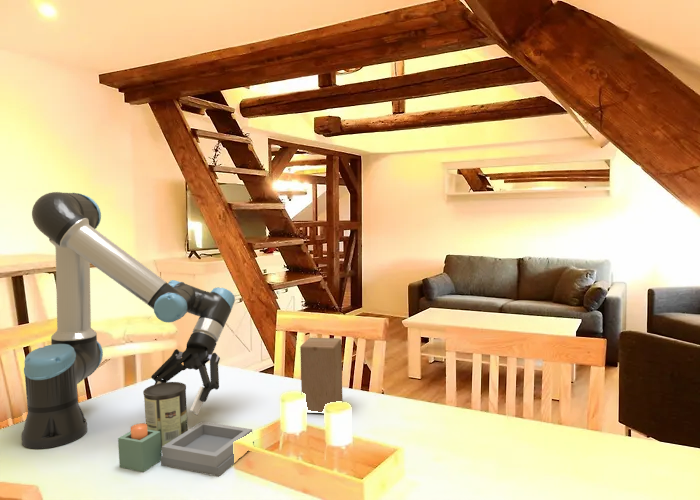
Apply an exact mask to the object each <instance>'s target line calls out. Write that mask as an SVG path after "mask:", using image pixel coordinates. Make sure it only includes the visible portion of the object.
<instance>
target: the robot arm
mask: <svg viewBox="0 0 700 500" xmlns="http://www.w3.org/2000/svg"><path fill="white" fill-rule="evenodd" d="M31 217H32V221H33V223H34V226H35V227H36V228H37V229H38V231H39V232H41V233H42V234H43V235H44V236H46V238H48V239H49V242H50V243H51V244H52V245H53V246H54V247H55V274H56V275H55V281H56V283H55V284H56V285H55V286H56V289H55V290H56V326H57V327H56V331H55V332H54V333H53V334H52V335H51V337H50V338H51V339H50V341H51V342H50V343H51V344H50V345H49V344H48V345H44V346H43V347H38V348H36V349H33V350H32V351H30V352H29V353H28V354H27V355H26V357H25V358H24V368H23V373H24V380H25V381H24V382H25V391H26V394H25V395H26V405H27V406H26V407H27V413H26V418H25V423H24V425H23V429H22V432H21V444H22V446H23V447H25V448H28V449H35V450H36V449H37V450H38V449H48V448H55V447H60V446H63V445H66V444H69V443H71V442H72V443H73V442H74V441H76V440H78V439H81V437H83V436H84V435H86V434H87V431H88V424H87V423H88V422H87V419H86V418H85V415H84V413H83V411H82V409H81V406H80V404H79V397H78V396H79V395H78V384H80V383H81V382H83V380H85V379H87V378H88V377H90V376H91V375H92V374H93V373H95V371H97V370H98V368H99V367H100V365H101V363H102V360H103V355H104V352H103V351H104V350H103V347H102V345H101V343H100V342H99V341H98V337H97V332H96V331H95V330H94V329H93V328H92V322H91V321H92V317H91V316H92V315H91V313H92V312H91V265H93V266H94V267H95V268H96V269H98V270H99V271H101V272H102V273H103V274H105V275H106V276H108V278H110V279H112V280H113V281H114V282H116V283H118V285H120V286H121V287H123V288H124V289H125V290H127V291H128V292H129V293H130V294H132V295H134V296H135V297H136V298H138V299H139V300H141V301H142V302H143V303H144V304H146V305H147V306H149V307H150V308H152V310H153V313H154V315H155V316H156V317H157V319H158V320H160V321H161V322H164V323H173V322H176V321H178V320H180V319H182V318H183V317H184V316H186V315H187V313H188V314H191V315H194V316H197V317H199V318H198V319H197V321H196V323H195V325H194V328H193V329H192V333H191V334H190V337H188V340H187V342H186V349H185V350H184V351H180V350H179V349H174V351H173V352H172V354H171V356H170V357H168V359H167V360H166V361H165V362H163V364H161V365H160V366H159V368H158V369H157V370H155V372H154V373H153V374H152V375H151V379H152V380H154V381H155V382H154V384H153V385H155V384H159V383H165V382H170V380H172V379H173V378H174V377H175V376H177V375H179V373H181V372H182V371H186V370H187V369H188V370H195V371H197V370H199V374H200V378H201V381H202V385H201V386H199V389H198V391H197V393H196V395H195V398H194V400H193V403H192V405H191V407H190V410H189V411H190V412H191V413H192V414H194V415H196V416H198V415H199V413H200V410H201V408H202V406H203V403H205V402H206V401H207V399H208V397H209V395H210V392H212V390H218V389H220V380H219V379H220V376H219V373H220V372H219V363H220V360H221V358H220V356H219V355H218V354H217V353H216V352H214V351H215V349H216V347H217V343H218V342H219V338H220V337H221V334H222V332H223V330H224V327H225V325H226V323H227V322H228V319H229V317H230V315H231V312H232V310H233V306H234V303H235V301H236V298H235V295H234V294H233V292H231V290H229V289H227V288H224V287H214V288H213V289H212V290H211V291H207V290H203V289H200V288H198V287H195V286H193V285H190V284H187V283H185V282H183V281H179V280H174V279H172V280H170V281H168V282H167V281H165V280H164V279H163V278H161V277H160V276H158V275H157V273H155V272H154V271H152V270H151V269H150V268H148V267H147V266H145V265H144V264H143V263H141V262H140V261H139V260H137V259H136V258H135V257H133V256H132V255H130V254H129V253H127V252H126V251H125V250H124V249H123V248H121V247H120V246H119V245H117V243H116V244H115V243H114V242H113V241H112V240H110V239H109V238H108V237H107V236H104V234H102V233H100V231H98V230H97V228H98V226H99V225H100V223H101V219H102V213H101V208H100V207H99V205H98V204H97V202H96V201H95V200H94V199H93V198H91V197H90V196H88V195H85V194H82V193H77V192H60V191H54V192H53V191H52V192H48V193H45V194H44V195H42V196H40V197H39V198H38V199H37V200H36V201H35V203H34V204H33V207H32V210H31ZM208 362H209V369H210V370H209V372H210V373H208V368H207V365H206V364H207V363H208ZM209 374H210V375H209ZM209 376H210V377H209Z"/></svg>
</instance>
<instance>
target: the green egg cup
mask: <svg viewBox="0 0 700 500" xmlns="http://www.w3.org/2000/svg"><path fill="white" fill-rule="evenodd" d="M147 430H148V429H147ZM117 442H118V443H117V446H118V459H119V460H118V463H119V468H121V469H126V470H132V471H137V472H140V473H144V472H146V471H148V470H149V469H150V468H153V466H156V464H158V463H161V456H162V451H161V434H160V431H154V430H148V436H146V437H145V438H143V439H141V440H137V439H131V430H130V431H129V432H127V433H125V434H123V435H121V436H120V437H118V438H117Z"/></svg>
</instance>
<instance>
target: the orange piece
mask: <svg viewBox="0 0 700 500" xmlns="http://www.w3.org/2000/svg"><path fill="white" fill-rule="evenodd" d="M130 431H131V439H137V440H141V439H143V438H145V437H146V436H148V430H147V424H146V422H145V423H136V424H134V425H132V426H130Z"/></svg>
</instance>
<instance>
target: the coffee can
mask: <svg viewBox="0 0 700 500" xmlns="http://www.w3.org/2000/svg"><path fill="white" fill-rule="evenodd" d="M154 384H155V383H154ZM154 384H153V385H150V386H147V387H146V388H145V389H144V390H143V397H144V398H143V399H144V401H143V402H144V414H145V416H144V418H145V424H147V429H148V430H154V431H160V434H161V452H162V446H164V445H165V444H167V443H169V442H170V441H172V440H173V439H175V438H176V437H178V436H180V435H181V434H183V433H184V432H186V431H188V430H189V429H188V427H189V426H188V412H187V411H188V410H187V392H186V391H187V385H186V384H185V383H183V382H180V381H167V382H165V383H159V384H155V385H154Z"/></svg>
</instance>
